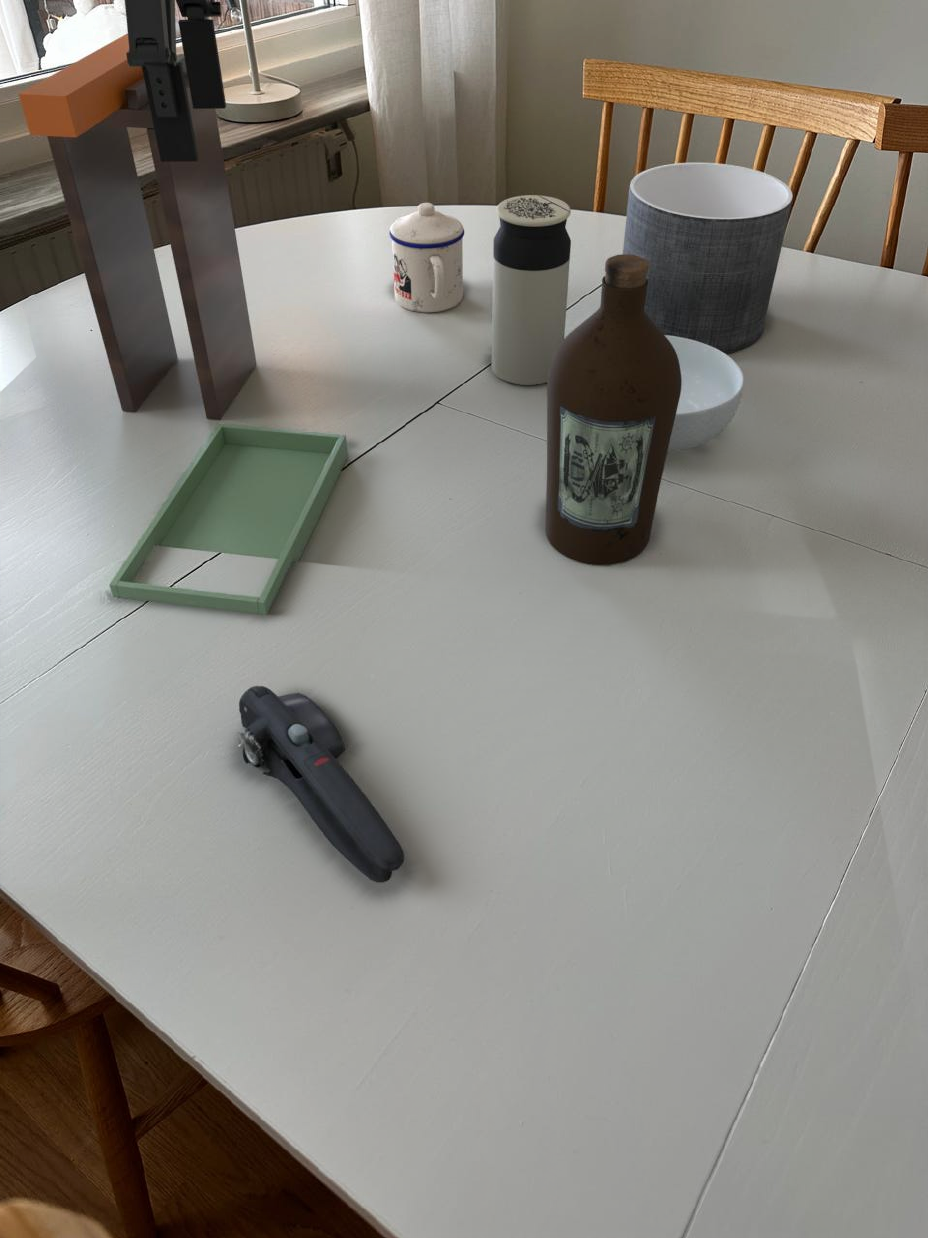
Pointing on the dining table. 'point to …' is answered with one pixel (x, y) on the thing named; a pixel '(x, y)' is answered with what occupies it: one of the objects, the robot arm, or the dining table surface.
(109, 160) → the tall brown stand
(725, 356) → the cereal bowl
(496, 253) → the travel mug
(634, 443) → the olive oil
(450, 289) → the teacup with lid
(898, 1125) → the dining table surface
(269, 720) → the can opener
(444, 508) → the dining table surface
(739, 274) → the planter
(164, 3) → the robot arm
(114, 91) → the orange rectangular bar
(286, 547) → the tray
